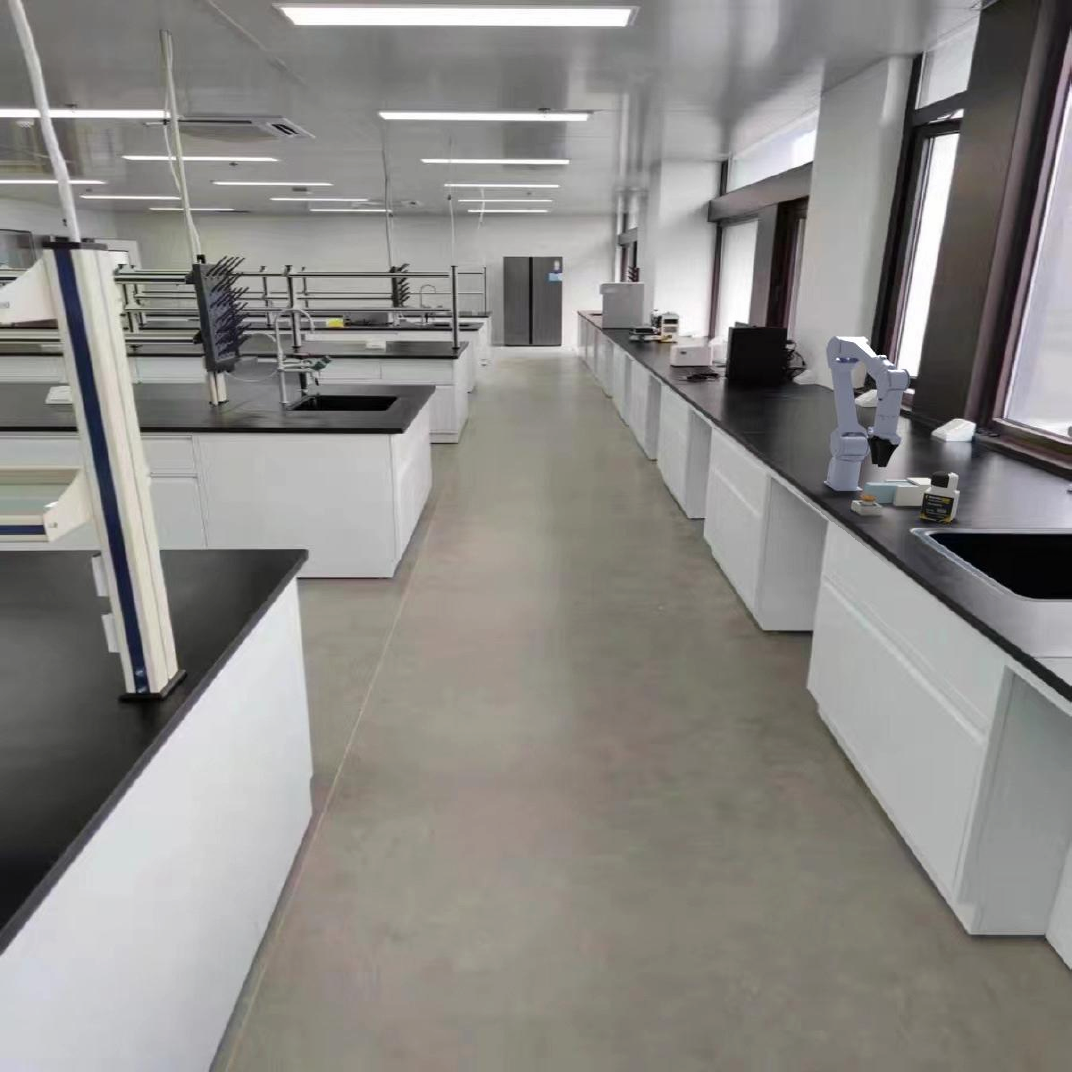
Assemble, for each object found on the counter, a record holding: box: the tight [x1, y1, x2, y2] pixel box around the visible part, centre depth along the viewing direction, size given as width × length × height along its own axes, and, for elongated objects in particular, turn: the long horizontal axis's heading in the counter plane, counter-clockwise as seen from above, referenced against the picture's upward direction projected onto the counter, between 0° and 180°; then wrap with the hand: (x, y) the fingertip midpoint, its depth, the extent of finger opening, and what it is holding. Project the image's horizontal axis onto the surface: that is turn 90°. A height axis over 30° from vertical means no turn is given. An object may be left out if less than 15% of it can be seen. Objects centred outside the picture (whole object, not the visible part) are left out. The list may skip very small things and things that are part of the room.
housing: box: [884, 477, 931, 507], centre depth 210 cm, size 7×12×6 cm, turn 93°
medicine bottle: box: [919, 470, 961, 523], centre depth 196 cm, size 7×7×12 cm
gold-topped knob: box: [860, 493, 877, 506], centre depth 200 cm, size 4×4×4 cm
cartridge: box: [863, 482, 918, 504], centre depth 210 cm, size 4×17×5 cm, turn 93°
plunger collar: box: [850, 500, 884, 516], centre depth 200 cm, size 6×6×2 cm
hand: (878, 465), depth 207 cm, fingers open, 3 cm apart
